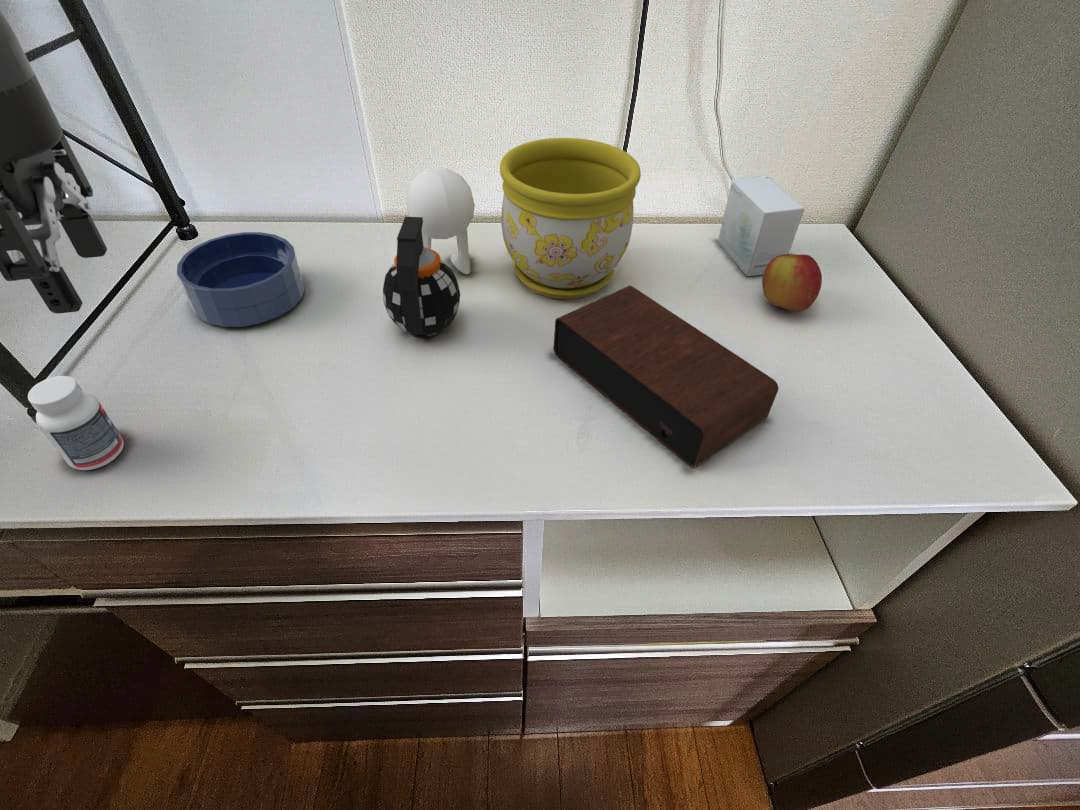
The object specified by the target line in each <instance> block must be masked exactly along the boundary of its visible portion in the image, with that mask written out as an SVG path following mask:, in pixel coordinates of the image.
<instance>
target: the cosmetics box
mask: <svg viewBox="0 0 1080 810" xmlns="http://www.w3.org/2000/svg"><path fill="white" fill-rule="evenodd" d="M804 212H805V207H804V206H803V205H802V204H801V203H800V202H798V201H797V200H796V198H794V197H793V196H792V195H791V194H790V193H789V192H788V191H786V189H784V188H783V186H781V185H780V184H779V183H778V182H777V181H775V179H773V178H772V176H771V175H769V174H768V175H759V176H752V177H742V178H734V179H732V180H731V183H730V188H729V191H728V197H727V201H726V205H725V209H724V213H723V217H722V221H721V226H720V230H719V234H718V238H717V242H718V243H719V245H720V246H721V247H722V248H723V249H724V251H725V252H726V253H727V254H728V255H729V257H730V258H731V259H732V261H734V262H735V264H736V265H737V266H738V267H739V269H740V270H741V271H742V272H743V273H744V275H745V276H746V277H754V276H761V275H762V276H763V274H764V271H765V269H766V267H767V265H768V263H769V262H770V261H771V260H772V259H773V258H775V257H776V256H779V255H782V254H791V253H790V252H791V249H792V246H793V243H794V240H795V237H796V235H797V231H798V229H799V226H800V223H801V220H802V218H803V216H804Z"/></svg>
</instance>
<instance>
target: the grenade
mask: <svg viewBox="0 0 1080 810" xmlns="http://www.w3.org/2000/svg"><path fill="white" fill-rule="evenodd" d="M422 225H423V217H409V216H404V218H403V221H402V224H401V226H400V230H399V232H398V234H397V236H396V242H397V243H396V255H395V256H394V259H393V264H392V265H391V266H390V268H389V269H388V271H387V272H386V273H385V276H384V280H383V287H382V301H383V304H384V308H385V310H386V313H387V314H388V317H389V318H390V319H391V321H392V322H393V323H394V324H395V325H396V326H398V328H400V329H401V330H403V331H404V332H405V333H408V334H409V335H411V336H413V337H415V338H420V339H428V338H433V337H436V336H438V335H440V334H441V333H442V332H443V331H444V330H445V329H446V328H447V327H448V326H449V325H450V324H452V322H453V320H454V319H455V318H456V316H457V313H458V312H459V311H458V310H459V308H460V302H461V291H460V286H459V282H458V280H457V279H458V278H457V277H456V274H455V273H454V271H453V269H452V268H451V267H450V266H449V265H448V264H447V263H446V262H445V261H443V260H442V259H441V255H440V254H439V252H437V251H435V250H434V249H432V248H431V249H429V248H425V247H423V238H422Z"/></svg>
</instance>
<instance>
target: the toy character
mask: <svg viewBox="0 0 1080 810" xmlns="http://www.w3.org/2000/svg"><path fill="white" fill-rule="evenodd" d="M405 198H406V199H405V206H406V211H407V214H408V217H423V225H422V238H423V247H425V248H429V249H432V239H433V240H448V239H451V238H454V237H455V239H456V244H457V252H455V253H452V255H451V256H450V262H451V264H452V265H453V266H454V267H455V268H456V269H457V270H458V271H459V272H461V273H462V274H464V275H468V274H470V273H471V258H470V251H469V250H470V249H469V238H468V227H469V226H470V223H471V222H472V220H473V219H474V214H475V207H476V205H475V200H474V195H473V192H472V188H471V185H470V184H469V183H468V182H467V180H466V179H465V177H464V176H463V175H461V174H460V173H457V172H456V171H454V170H451V169H449V168H448V167H447V168H445V167H432V168H429V169H426V170H423V171H421V172H420V173H418V174H417V175H416V176H415V177H414V178H413V179H412V180H411V182H410V184H409V185H408V187H407V189H406V197H405Z"/></svg>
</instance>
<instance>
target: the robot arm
mask: <svg viewBox="0 0 1080 810" xmlns="http://www.w3.org/2000/svg"><path fill="white" fill-rule="evenodd" d="M68 174H69V175H71V176H72V178H71V177H70V176H69V175H68ZM93 191H94V190H93V188H92V185H91V184H90V182H89V180H88V178H87V176H86V174H85V172H84V170H83V168H82V167H81V164H80V162H79V161H78V158H77V157H76V155H75V153H74V151H73V149H72V147H71V145H70V143H69V141H68V139H67V138H66V136H65V134H64V131H63V128H62V126H61V124H60V122H59V120H58V117H57V116H56V114H55V112H54V110H53V108H52V106H51V104H50V101H49V100H48V98H47V96H46V93H45V92H44V89H43V87H42V86H41V83H40V80H38V77H37V76H36V73H35V71H34V69H33V67H32V65H31V63H30V61H29V59H28V57H27V55H26V52H25V51H24V49H23V47H22V45H21V43H20V41H19V38H18V37H17V35H16V33H15V31H14V29H13V27H12V26H11V24H10V22H9V21H8V19H7V18H6V16H5V15H4V12H2V10H1V9H0V274H1V276H2V277H3V278H4V280H5V281H7V282H15V281H23V280H29V281H30V282H31V284H32V285H33V286H34V288H35V290H36V291H37V293H38V294H39V297H41V299H42V301H43V302H44V304H45V305H46V307H47V309H48V311H50V312H51V313H53V314H58V315H59V314H67V313H77V312H79V311H80V310H81V308H82V306H83V301H82V299H81V297H80V295H79V294H78V292H77V290H76V288H75V287H74V285H73V283H72V281H71V279H70V278H69V276H68V274H67V272H66V271H65V269H64V268H63V266H61V264H60V260H59V255H58V251H57V247H56V243H57V242H58V241H59V240H60V239H61V231H60V227H59V223H60V225H61V226H62V229H63V230H64V232H65V234H66V236H67V237H68V239H69V241H70V244H71V245H72V246H73V249H74V250H75V252H76V253H77V255H78V256H79V257H80V258H82V259H90V258H99V257H100V258H101V257H104V256H106V253H107V251H108V247H107V245H106V244H105V242H104V239H103V237H102V236H101V233H100V231H99V229H98V228H97V226H96V224H95V222H94V219H93V218H92V215H91V213H92V205H91V203H90V201H89V200H88V199H87V198H93V196H94V192H93ZM58 217H60V218H59V222H58ZM38 225H39V226H40V227H38V228H34V229H33V228H32V229H27V227H26V226H38ZM35 243H39V246H40V250H41V253H40V250H39V249H38V247H37V246H36V244H35ZM8 252H10V253H11V257H12V258H11V257H10V255H9V253H8Z"/></svg>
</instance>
